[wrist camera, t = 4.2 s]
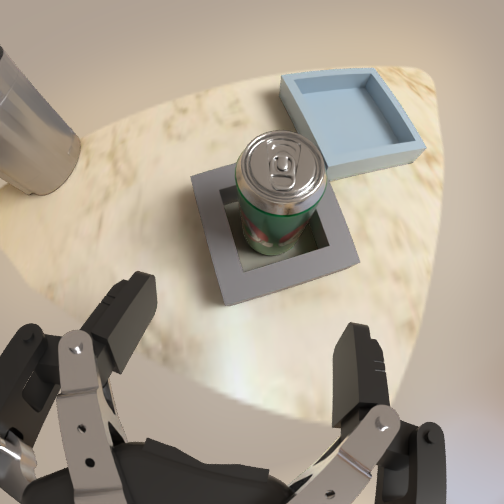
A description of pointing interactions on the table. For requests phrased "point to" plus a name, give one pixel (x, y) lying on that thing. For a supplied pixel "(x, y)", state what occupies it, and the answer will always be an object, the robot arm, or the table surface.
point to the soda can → (278, 189)
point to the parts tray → (350, 120)
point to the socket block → (280, 273)
